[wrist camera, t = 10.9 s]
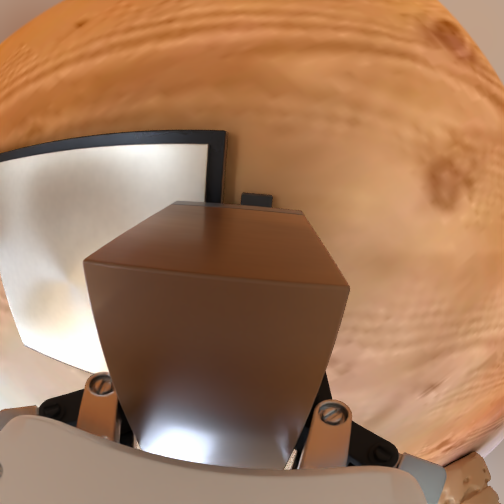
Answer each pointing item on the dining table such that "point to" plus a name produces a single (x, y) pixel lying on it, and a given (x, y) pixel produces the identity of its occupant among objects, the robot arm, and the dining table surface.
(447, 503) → the crumpled can
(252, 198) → the block
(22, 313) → the whiteboard
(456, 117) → the dining table surface
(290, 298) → the eraser
